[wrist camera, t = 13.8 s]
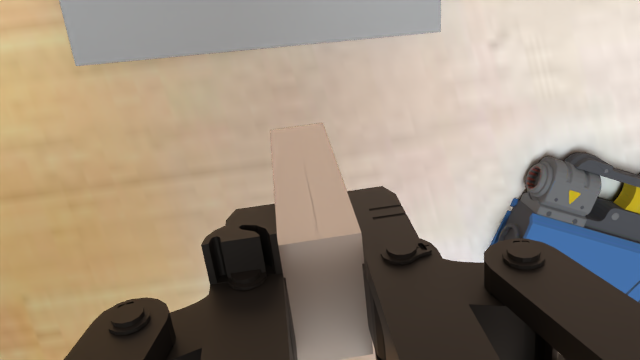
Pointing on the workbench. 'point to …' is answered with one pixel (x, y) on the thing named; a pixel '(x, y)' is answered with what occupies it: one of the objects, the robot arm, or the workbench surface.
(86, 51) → the long grey bar
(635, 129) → the workbench surface
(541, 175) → the stun gun
